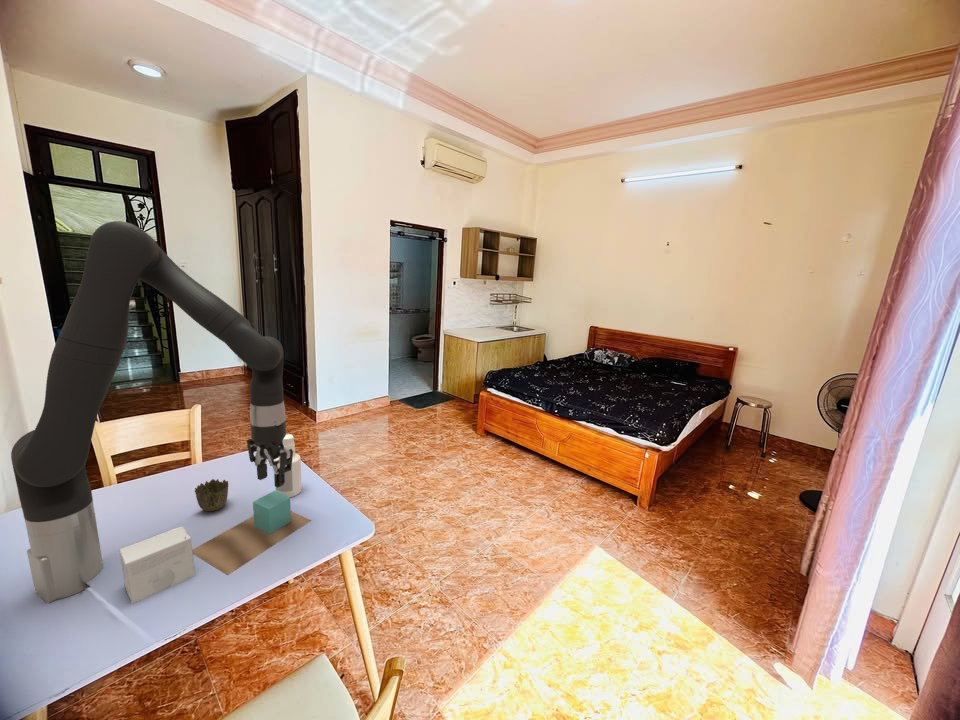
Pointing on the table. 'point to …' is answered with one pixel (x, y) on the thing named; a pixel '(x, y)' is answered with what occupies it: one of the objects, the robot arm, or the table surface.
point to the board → (243, 543)
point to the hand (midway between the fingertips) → (271, 481)
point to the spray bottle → (291, 471)
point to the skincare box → (157, 563)
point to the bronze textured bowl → (212, 494)
